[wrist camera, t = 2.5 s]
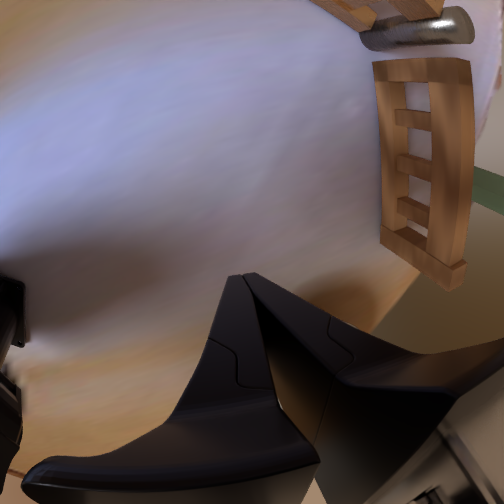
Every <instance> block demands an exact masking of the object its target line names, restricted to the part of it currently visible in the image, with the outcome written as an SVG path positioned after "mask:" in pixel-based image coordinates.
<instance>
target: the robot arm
mask: <svg viewBox="0 0 504 504" xmlns="http://www.w3.org/2000/svg"><path fill="white" fill-rule="evenodd" d="M17 287H19V288H20V289H21V290H19V289H18V288H17ZM19 341H20V342H19ZM25 343H26V336H25V286H24V284H23V283H22V282H20V281H17V280H14V279H11V278H8V277H5V276H2V275H0V370H1V368H2V365H3V362H4V360H5V357H6V355H7V352H8V350H9V347H10V345H14V346H17V347H20V348H23V347H24V346H25ZM277 397H278V398H277ZM278 400H279V401H278ZM279 402H280V404H281V406H282V408H281V406H280V404H279ZM22 423H23V420H22V409H21V389H20V388H19V387H18V386H17V385H16V384H15V385H14V384H13V383H12V382H11V381H10V380H9V379H8V378H7V377H6V376H5V375H4V374H3V373H2V372H1V371H0V495H1V493H2V491H3V486H4V482H5V477H6V474H7V470H8V468H9V466H10V463H11V461H12V459H13V458H14V456H15V455H16V453H17V452H18V450H19V448H20V446H19V445H20V442H21V439H22V434H23V426H22ZM313 478H315V480H316V482H317V484H318V486H319V488H320V490H321V492H322V494H323V496H324V498H325V500H326V503H327V504H504V338H501V339H498V340H495V341H492V342H488V343H483V344H479V345H475V346H470V347H466V348H461V349H457V350H451V351H446V352H441V353H436V354H418V353H414V352H410V351H408V350H405V349H403V348H401V347H398V346H396V345H393V344H391V343H389V342H386V341H384V340H381V339H379V338H377V337H375V336H372V335H370V334H368V333H366V332H363V331H361V330H359V329H357V328H355V327H353V326H351V325H349V324H347V323H345V322H343V321H341V320H340V319H338V318H336V317H334V316H332V317H331V315H330V314H329V313H327V312H325V311H323V310H321V309H319V308H318V307H316V306H314V305H312V304H311V303H309V302H307V301H305V300H303V299H302V298H300V297H298V296H296V295H294V294H293V293H291V292H289V291H287V290H286V289H284V288H282V287H280V286H278V285H277V284H275V283H273V282H271V281H270V280H268V279H266V278H264V277H263V276H261V275H259V274H257V273H255V272H253V273H246V274H243V275H240V274H239V275H232V276H228V278H227V281H226V284H225V287H224V290H223V293H222V296H221V299H220V302H219V305H218V308H217V311H216V314H215V317H214V321H213V324H212V327H211V330H210V333H209V336H208V340H207V342H206V345H205V348H204V351H203V353H202V356H201V358H200V361H199V363H198V365H197V367H196V369H195V371H194V373H193V375H192V377H191V379H190V381H189V383H188V385H187V387H186V388H185V390H184V392H183V394H182V396H181V398H180V400H179V401H178V403H177V405H176V407H175V409H174V410H173V412H172V414H171V415H170V416H169V418H168V419H167V420H166V421H165V422H164V423H163V424H162V425H160V426H158V427H157V428H155V429H153V430H151V431H150V432H148V433H146V434H144V435H142V436H141V437H139V438H137V439H135V440H133V441H131V442H130V443H128V444H126V445H124V446H122V447H120V448H118V449H116V450H114V451H112V452H109V453H106V454H102V455H98V456H90V457H76V456H51V457H48V458H46V459H44V460H43V461H41V462H39V463H38V464H36V465H35V466H34V467H32V468H31V469H30V470H29V471H28V472H27V474H26V475H25V476H24V478H23V481H22V483H21V489H22V491H23V492H24V493H25V494H26V495H27V496H28V497H29V498H31V499H32V500H34V501H35V502H37V503H39V504H301V502H302V501H303V499H304V497H305V495H306V493H307V491H308V489H309V487H310V485H311V483H312V480H313Z"/></svg>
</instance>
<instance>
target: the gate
mask: <svg viewBox="0 0 504 504" xmlns="http://www.w3.org/2000/svg"><path fill="white" fill-rule="evenodd" d="M372 65H373V72H374V80H375V88H376V97H377V107H378V118H379V131H380V147H381V172H382V224H381V230H380V244H382V245H383V246H385V247H386V248H388V249H389V250H391V251H392V252H394V253H395V254H396V255H398V256H399V257H401V258H402V259H404V260H405V261H406V262H408V263H409V264H411V265H412V266H413V267H415V268H416V269H418V270H419V271H420V272H422V273H423V274H425V275H426V276H427V277H429V278H430V279H431V280H433V281H434V282H435V283H437V284H438V285H439V286H441V287H442V288H443V289H445V290H446V291H447V292H449V291H451V290H453V289H455V288H456V287H458V286H460V285H462V284H463V281H464V277H465V272H466V268H467V264H468V263H467V262H466V261H464V260H463V259H462V258H463V253H464V247H465V241H466V236H467V229H468V222H469V214H470V207H471V198H472V187H473V173H474V151H475V119H474V97H473V84H472V74H471V65H470V61H467V60H463V59H460V58H412V59H397V60H385V61H375V62H372ZM404 82H422V83H428V85H429V96H430V110H431V112H425V111H417V110H409V109H406V99H405V88H404ZM408 127H410V128H415V129H420V130H425V131H430V132H432V161H430V160H426V159H423V158H420V157H416V156H413V155H409V153H408ZM409 175H412V176H415V177H418V178H420V179H423V180H426V181H428V182H431V199H430V207H428V206H426V205H424V204H422V203H420V202H418V201H416V200H413V199H411V198H409V197H408V189H409ZM407 218H408V219H410V220H412V221H414V222H416V223H417V224H419V225H421V226H423V227H425V228H426V229H428V235H427V237H425V236H423V235H422V234H420V233H418V232H416V231H415V230H413V229H411V228H409V227H408V226H407Z"/></svg>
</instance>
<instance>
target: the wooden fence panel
mask: <svg viewBox="0 0 504 504" xmlns="http://www.w3.org/2000/svg"><path fill="white" fill-rule="evenodd" d="M310 1H312V2H313V3H315V4H317V5H318V6H320V7H322V8H323V9H325V10H326V11H328V12H329V13H331V14H332V15H334V16H335V17H337V18H338V19H340V20H341V21H343V22H344V23H346V24H347V25H348V26H350V27H351V28H353V29H354V30H355V31H357V32H359V35H360V39H361V41H362V43H363V44H364V46H365V47H366V48H368V49H369V50H372V51H379V50H386V49H394V48H403V47H413V46H425V45H443V44H471V43H472V42H473V41H474V38H475V31H474V26H473V23H472V21H471V18H470V17H469V15H468V14H467V12H466V11H465V10H464V9H463V8H461V7H459V6H453V7H445V8H443V4H444V1H445V0H387V1H388V2H389V3H390V4H391V5H393V6H394V7H395V8H396V9H397V10H398V11H399V12H400V13H402V14H403V15H399V16H395V17H390V18H386V19H382V20H378V21H375V19H376V16H377V13H375V12H374V11H373V10H372V9H370V8H369V7H368V6H366V5H369V4H372V3H375V2H378V1H382V0H310Z"/></svg>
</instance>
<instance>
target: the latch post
mask: <svg viewBox="0 0 504 504" xmlns="http://www.w3.org/2000/svg"><path fill="white" fill-rule="evenodd" d="M471 200H472V201H474V202H476V203H479V204H481V205H483V206H485V207H487V208H489V209H491V210H493V211H496V212H498V213H500V214H502V215H504V177H503V176H500V175H497V174H495V173H492V172H489V171H486V170H484V169H481V168H478V167H475V166H474V173H473V187H472V198H471Z"/></svg>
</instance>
